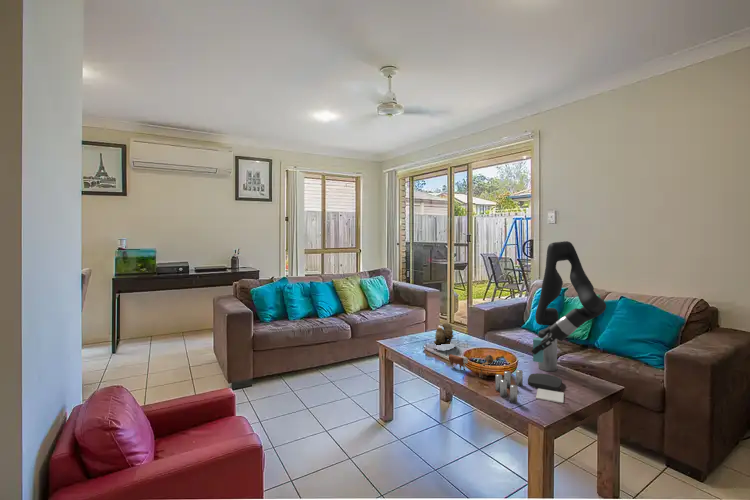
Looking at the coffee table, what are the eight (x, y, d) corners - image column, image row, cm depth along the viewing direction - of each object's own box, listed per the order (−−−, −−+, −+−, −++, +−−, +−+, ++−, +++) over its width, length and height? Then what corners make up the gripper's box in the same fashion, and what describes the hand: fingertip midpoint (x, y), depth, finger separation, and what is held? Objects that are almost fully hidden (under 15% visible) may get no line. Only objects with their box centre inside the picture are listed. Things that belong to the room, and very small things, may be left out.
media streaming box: (559, 393, 173) (559, 387, 173) (526, 386, 181) (526, 380, 181) (562, 382, 186) (563, 376, 185) (531, 376, 193) (531, 371, 193)
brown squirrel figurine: (444, 342, 254) (444, 318, 253) (459, 346, 246) (459, 320, 245) (428, 348, 241) (428, 322, 240) (444, 352, 233) (444, 326, 232)
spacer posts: (499, 380, 188) (499, 366, 188) (522, 384, 183) (522, 370, 183) (490, 398, 168) (490, 383, 168) (516, 403, 163) (516, 388, 162)
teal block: (534, 358, 173) (534, 337, 173) (543, 359, 171) (543, 338, 171) (533, 361, 170) (533, 339, 169) (542, 362, 168) (542, 340, 167)
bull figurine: (466, 373, 198) (466, 358, 197) (447, 366, 208) (447, 352, 208) (471, 371, 200) (471, 357, 200) (452, 365, 211) (452, 350, 211)
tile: (537, 389, 177) (537, 388, 177) (563, 393, 172) (563, 392, 172) (535, 398, 167) (535, 397, 167) (563, 403, 162) (563, 402, 162)
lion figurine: (485, 369, 204) (485, 353, 204) (494, 370, 201) (494, 354, 201) (477, 378, 192) (477, 361, 191) (488, 380, 189) (488, 362, 188)
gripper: (557, 318, 172) (529, 341, 178) (555, 325, 160) (525, 349, 166) (570, 330, 170) (541, 353, 176) (569, 338, 157) (538, 362, 164)
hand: (533, 351), depth 171 cm, fingers closed on teal block, 4 cm apart
